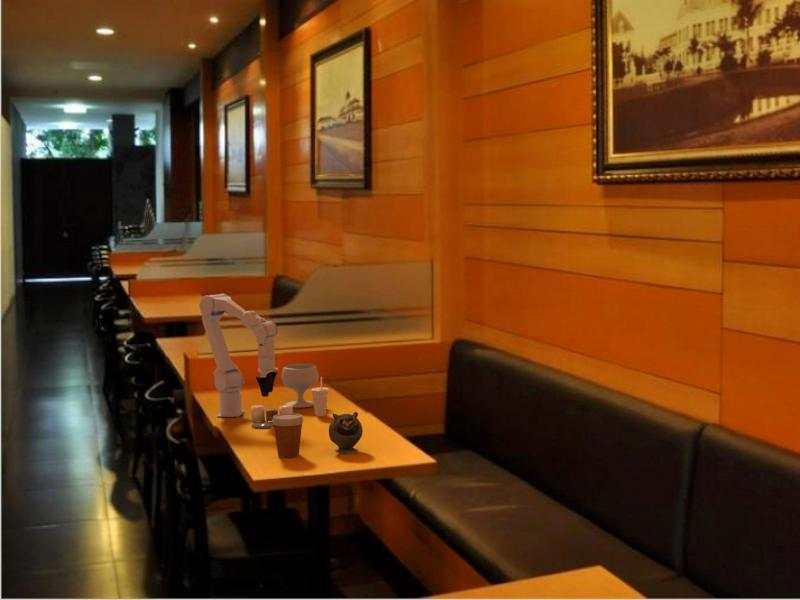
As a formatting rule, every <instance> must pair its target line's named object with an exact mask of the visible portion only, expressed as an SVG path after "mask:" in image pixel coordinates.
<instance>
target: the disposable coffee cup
mask: <svg viewBox="0 0 800 600" xmlns="http://www.w3.org/2000/svg"><path fill="white" fill-rule="evenodd" d="M272 422H273V424H274V428H273V429H274V435H275V442H276V443H275V444H276V450H277V451H276V452H277V456H278V457H281V458H296V457H299V456H300V447H301V438H302V427H303V423H304V418H303V415H302V414H300V413H283V414H280V413H278V414H277V415H274V416H273V420H272Z"/></svg>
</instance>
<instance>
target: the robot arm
mask: <svg viewBox="0 0 800 600" xmlns="http://www.w3.org/2000/svg"><path fill="white" fill-rule="evenodd" d="M198 307H199V311H200V313H201V321H202V325H203V327H204V331H205V334H206V337H207V339H208V342H209V343H208V344H209V346H210V349H211V351H212V352H211V353H212V355H213V358H214V361H215V364H216V369H215V370H214V371H213V378H214V386H215V388H216V390H217V392H219V413H218V414H217V416H216V417H217V418H218V417H219V418H220V417H222V418H223V417H225V418H228V417H229V418H230V417H232V418H235V417H237V418H239V417H240V416H241V415H242V414H243V413H244V412H245V410H244V409H242V394H241V389H242V386H243V385H244V383H245V377H244V374H243V373H242V372H241V370H240V368H239V366H238V365H237V364H235V363H234V362H233V361H232V359H231V355H230V353H229V349H228V347H227V344H226V340H225V337H224V333H223V332H222V331H223V330H222V327H221V325H220V320H221V318H222V317H223V316H224V315H225V313H226V312H227V313H228V314H229V315H232V316H234V317H236V318H237V319H240V320H241V321H240V322H241V325H242V326H244V327H246V328H247V329H249V330H250V331H252V333H254V336H255V338H256V343H257V357H258V358H257V360H258V362H257V363H258V364H257V365H258V368H257V372H259V375H257V376H255V379H256V381H257V383H258V386H259V389H260V393H261V397H262V398H263V397H264V398H265V397H266V398H267V397H269V394H270V393H273V390H274V385H275V384H274V383H275V380H276V377H277V375H278V372H279V371H278V370H279V367H276V366H275V365H276V362H275V360H276V359H275V358H276V355H275V352H276V351H275V336H277V334H278V331H279V330H278V326H277V324H276V322H274V321H273V320H266V318H265V317H262V316H260V315H258V314H257V312H256V311H255V310H248V311H246V310H245V309H244V308H243V307H242V306H240V305H238V303H236V302H235V301H234V300H233V299H232V297H231V296H229V295H228V294H226V293H219V294H210V295H207V294H206V295H203V296H202V297H201V299H200V302H199V304H198Z"/></svg>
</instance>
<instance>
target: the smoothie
mask: <svg viewBox="0 0 800 600" xmlns="http://www.w3.org/2000/svg"><path fill="white" fill-rule="evenodd" d="M319 378H320V387H313V388H310V393H311V394H312V395H311V396H312V401H313V403H314V406H313V408H314V409H313V410H314V415H316V416H315V417H317V416H323V417H326V416H327V406H328V398H329V397H328V396H329V395H328V394H329V392H330V389H329V388H328V387H323V376H320V377H319ZM325 415H326V416H325Z"/></svg>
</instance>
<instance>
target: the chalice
mask: <svg viewBox="0 0 800 600" xmlns="http://www.w3.org/2000/svg"><path fill="white" fill-rule="evenodd" d="M281 371H282V372H281V382H282V384H283V385H284V386H286V387H288V388H289V389H290V390H293V391H294V392H295V393H296V394H297V396H298V397H297V399H296V400H293V401H289V402H286V403H285V404H284V405H291V406H293V409H298V408H299V409H301V408H302V409H303V408H305V407H306V408H311V407H314V403H313V400H312V401H311V400H305V399H304V394H305V392H306V391H307V390H309V389H311V387H314V386H315V385H316V384H317V383H318V381H319V378H320V377H319V376H320V375H319V371H318V368H317V366H316V365H314V364H312V363H293V364H287V365H285V366H284V367H283V369H282V370H281Z"/></svg>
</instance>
